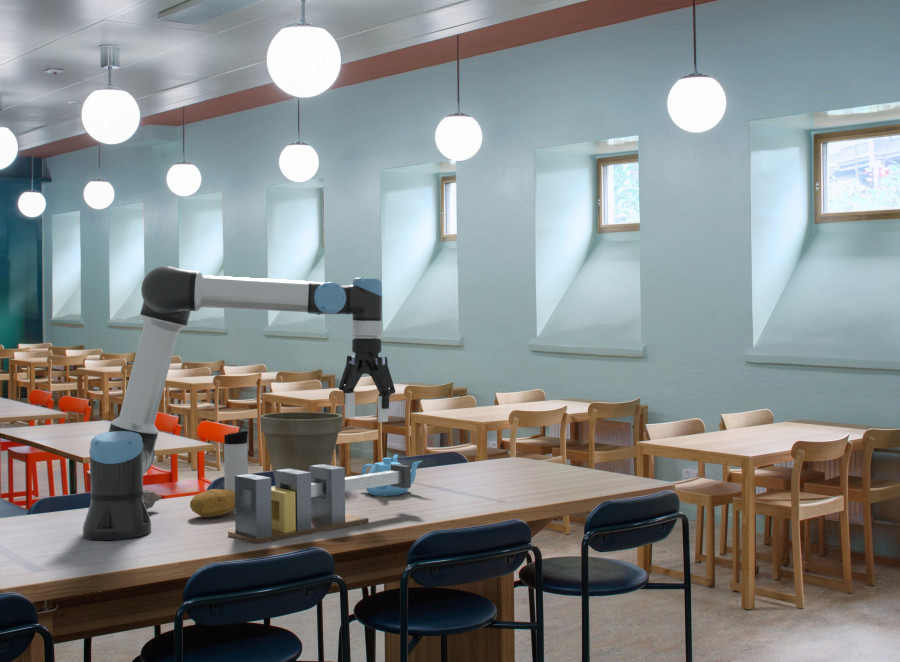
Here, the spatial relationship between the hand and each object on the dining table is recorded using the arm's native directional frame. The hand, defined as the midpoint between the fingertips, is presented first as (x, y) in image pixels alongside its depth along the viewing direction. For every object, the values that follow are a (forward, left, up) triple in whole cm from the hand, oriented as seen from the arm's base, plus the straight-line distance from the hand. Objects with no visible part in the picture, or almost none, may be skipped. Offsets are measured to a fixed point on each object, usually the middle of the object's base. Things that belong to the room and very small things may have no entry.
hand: (366, 419), depth 246 cm
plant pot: (+14, +48, -24) cm, 56 cm away
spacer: (-29, -4, -23) cm, 37 cm away
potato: (-29, +25, -24) cm, 46 cm away
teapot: (+24, +18, -24) cm, 38 cm away
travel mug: (-16, +36, -24) cm, 47 cm away
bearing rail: (-23, -4, -24) cm, 34 cm away
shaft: (-8, -4, -18) cm, 20 cm away
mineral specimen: (-41, +44, -24) cm, 65 cm away
